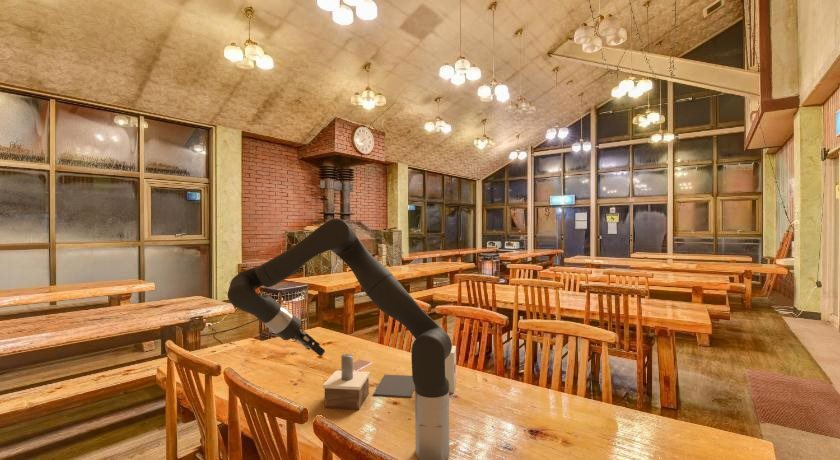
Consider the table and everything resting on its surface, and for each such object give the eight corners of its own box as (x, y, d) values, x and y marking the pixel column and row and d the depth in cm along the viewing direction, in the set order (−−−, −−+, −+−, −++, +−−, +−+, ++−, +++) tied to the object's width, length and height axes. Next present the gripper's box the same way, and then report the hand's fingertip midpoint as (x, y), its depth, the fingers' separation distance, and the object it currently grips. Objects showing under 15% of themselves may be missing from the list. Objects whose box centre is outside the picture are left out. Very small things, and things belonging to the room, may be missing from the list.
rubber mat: (411, 397, 136) (411, 396, 136) (373, 395, 138) (373, 393, 138) (418, 377, 154) (418, 376, 154) (384, 375, 156) (384, 374, 156)
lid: (359, 394, 127) (359, 363, 126) (322, 392, 128) (322, 361, 128) (370, 378, 139) (369, 350, 139) (336, 377, 141) (335, 349, 141)
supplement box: (454, 393, 139) (454, 353, 139) (430, 391, 141) (429, 351, 141) (456, 383, 148) (456, 345, 148) (434, 381, 150) (433, 344, 149)
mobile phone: (372, 361, 170) (351, 373, 157) (372, 363, 170) (351, 375, 157) (359, 358, 174) (337, 370, 161) (359, 361, 174) (337, 372, 161)
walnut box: (358, 409, 127) (358, 389, 127) (324, 407, 129) (324, 387, 129) (368, 394, 139) (368, 375, 139) (337, 392, 141) (337, 373, 141)
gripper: (300, 316, 115) (334, 345, 122) (281, 308, 125) (314, 336, 133) (283, 337, 111) (319, 366, 119) (265, 327, 122) (299, 354, 129)
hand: (316, 350), depth 126 cm, fingers open, 8 cm apart
